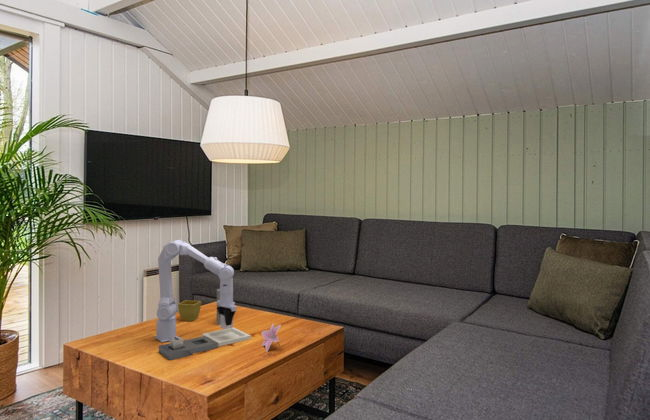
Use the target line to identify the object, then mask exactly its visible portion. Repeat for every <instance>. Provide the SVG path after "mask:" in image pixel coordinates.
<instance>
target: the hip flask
mask: <svg viewBox="0 0 650 420" xmlns="http://www.w3.org/2000/svg"><path fill="white" fill-rule="evenodd" d="M218 300H220V288H217V289H216V302H217V301H218ZM217 307H219V305H217V304H216V308H217ZM216 326H220V315H219V312H218V310H217V309H216Z"/></svg>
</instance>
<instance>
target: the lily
mask: <svg viewBox="0 0 650 420" xmlns="http://www.w3.org/2000/svg"><path fill="white" fill-rule="evenodd" d="M281 326H282V325H281V324H279V325H276V326H275V324H274V323H272V324H271V327H270V329H269V330H268V329H267V330H263V331H261V336H262V338H263V339H264V340H263V342H262V343H261V346H262V347H264V346H265V351H266V352H268V351H269V350H270V347H271V345H272V343H277V345H280V343H279V341H280V339H279V337H278V335H277V333H278V332H279V330H280V329H281Z"/></svg>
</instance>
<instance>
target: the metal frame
mask: <svg viewBox="0 0 650 420" xmlns="http://www.w3.org/2000/svg"><path fill="white" fill-rule="evenodd" d="M217 348H218V346H217V343H216V342H214V341H213V340H211V339H209V338H207V337H206V336H202V335H201V336H197V337H193V338H189V339H183V348H180V349H176V350H171V349H170V342H169V343H165V344H161V345H158V352H159V354H161V355H162V356H164V357H165V358H166V359H168V360H169V361H173V360H177V359H182V358H185V357H189V356H193V355H194V354H197V353H198V354H199V353H201V352H206V351H210V350H215V349H217Z"/></svg>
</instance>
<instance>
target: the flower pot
mask: <svg viewBox="0 0 650 420" xmlns="http://www.w3.org/2000/svg"><path fill="white" fill-rule="evenodd" d="M201 306H202V301H201V300H186V299H185V300H183V301H182V302H180V303H178V304H177V307H178V313H179V316H180V318H181V320H182V321H186V322H187V321H189V322H193V321H196V319H197V318H198V317H199V314H200V311H201Z"/></svg>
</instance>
